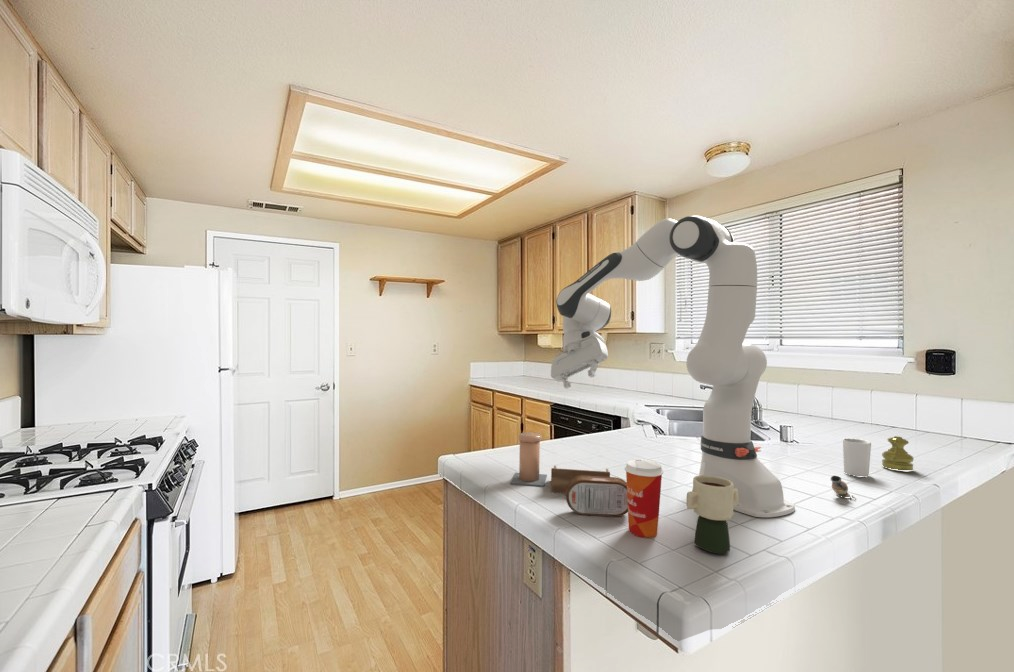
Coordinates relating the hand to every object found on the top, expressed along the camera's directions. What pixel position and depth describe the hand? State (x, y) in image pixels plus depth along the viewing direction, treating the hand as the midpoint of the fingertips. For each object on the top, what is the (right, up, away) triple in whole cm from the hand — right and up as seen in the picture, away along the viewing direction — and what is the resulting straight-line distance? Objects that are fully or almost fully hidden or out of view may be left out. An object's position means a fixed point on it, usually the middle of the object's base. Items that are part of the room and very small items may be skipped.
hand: (579, 381), depth 138 cm
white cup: (+81, -27, -4) cm, 85 cm away
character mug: (+17, -27, -52) cm, 61 cm away
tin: (-1, -26, -36) cm, 45 cm away
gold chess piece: (+98, -27, +1) cm, 102 cm away
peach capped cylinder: (-16, -25, -13) cm, 33 cm away
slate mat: (-16, -26, -13) cm, 33 cm away
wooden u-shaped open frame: (-3, -26, -19) cm, 32 cm away
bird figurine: (+61, -27, -24) cm, 71 cm away
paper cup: (+6, -27, -45) cm, 52 cm away
